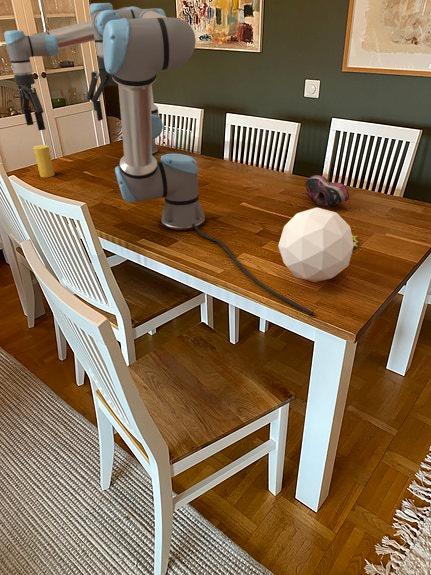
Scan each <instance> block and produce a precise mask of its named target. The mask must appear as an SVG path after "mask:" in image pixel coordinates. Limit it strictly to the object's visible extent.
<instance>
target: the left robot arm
mask: <svg viewBox="0 0 431 575" xmlns="http://www.w3.org/2000/svg"><path fill="white" fill-rule="evenodd" d="M131 9H132V10H135V9H141V8H140V7H138V6H132V5H131V6H123V7H120V8H117V10H131ZM3 36H4V40H5V45H6V51H7V53H8V57H9V60H10V65H11V66H10V68H11V69H12V73H13V75H14V76H13V78H14V81H15V84H16V85H17V88H18V95H19V106H20V108H22V110H23V114H24V118H25V123H26V126H33V125H35V124H34V119H33V116H32V111H31V107H32V110H33V112H34V113H33V114H34V116H35V120H36V125H37V130H38V131H44V130H46V126H45V125H46V124H45V121H44V117H43V113H44V109H43V106H42V104H41V101H40V98H39V95H38V93H37V88H36V87H33V86H32V85H35V84H36V80H35V76H34V74H33V67H32V62H31V59H30V58H34V57H53V56H58V55H59V53H60V50H62V49H65V48H66V49H67V48H70V47H73V46H79V45H81V44H85V43H89V42H93V41H94V42H95V38H94V32H93V26H92V20H91V19H90V20H87V21H83V22H78V23H75V24H71V25H67V26H62V27H59V28H55V29H54V28H53V29H51V30H47V31H43V32H39V33H38V32H36V33H33V34H32V35H26V34H25V32H24V31H23V30H20V29H19V30H18V29H17V30H5V32H4V34H3ZM30 105H31V106H30ZM151 119H152V156H153V155H155V154H158V152H159V150H158V145H157V143H156V141H155V139H157V138H158V137H160V135H161V134H162V132H163V129H164V124H163V120H162V119H161V117H160V114H159V107H158V106H157V105H156V104H155V100H154V93H153V84H152V85H151ZM119 139H121V140H122V141H123V137H122V136H121V135H120V137H119Z"/></svg>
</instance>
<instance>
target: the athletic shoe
mask: <svg viewBox="0 0 431 575" xmlns="http://www.w3.org/2000/svg"><path fill="white" fill-rule="evenodd" d="M304 187H305V190H306V192H307V193H302V195H304V196H308V197H310V199H311V201H312V202H315V204H316V205H318V206H326V207H327V208H330V207H333V206H336V205H339V204H341V203H344V202H348V201H349V199H350V193H349V190H348V188H347V187H346V186H345V185H344V183H341V182H337V181H335V182H332V183H331V182H330V181H329V179H327V178H326V176H323V175H320V174H314V175H312V176H310V177H309V178H308V179H306V181H305V183H304Z"/></svg>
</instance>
